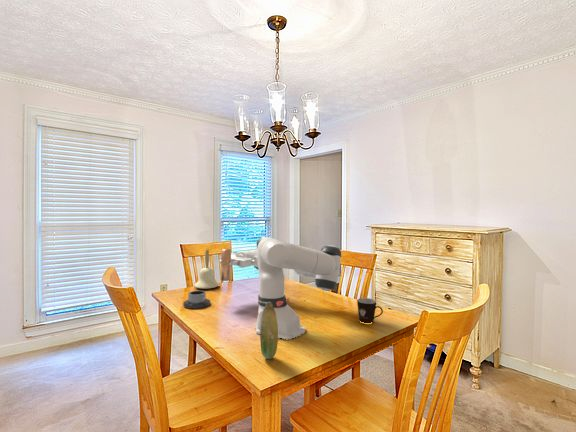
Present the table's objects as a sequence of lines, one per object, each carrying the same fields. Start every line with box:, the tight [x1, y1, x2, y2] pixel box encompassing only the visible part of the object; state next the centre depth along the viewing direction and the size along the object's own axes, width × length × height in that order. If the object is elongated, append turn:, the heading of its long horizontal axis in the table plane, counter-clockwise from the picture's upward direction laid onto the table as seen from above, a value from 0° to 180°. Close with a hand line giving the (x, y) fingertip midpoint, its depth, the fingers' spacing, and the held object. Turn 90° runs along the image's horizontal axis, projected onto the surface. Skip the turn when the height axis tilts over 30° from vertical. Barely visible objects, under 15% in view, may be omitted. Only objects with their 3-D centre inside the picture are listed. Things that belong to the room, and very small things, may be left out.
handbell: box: [194, 248, 220, 289], centre depth 203 cm, size 15×15×25 cm
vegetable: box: [259, 302, 279, 360], centre depth 109 cm, size 6×6×20 cm
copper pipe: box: [220, 248, 232, 282], centre depth 164 cm, size 5×5×16 cm
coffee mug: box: [356, 297, 384, 323], centre depth 144 cm, size 12×9×10 cm
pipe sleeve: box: [182, 290, 211, 310], centre depth 168 cm, size 14×14×6 cm
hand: (224, 262), depth 163 cm, fingers closed on copper pipe, 5 cm apart
